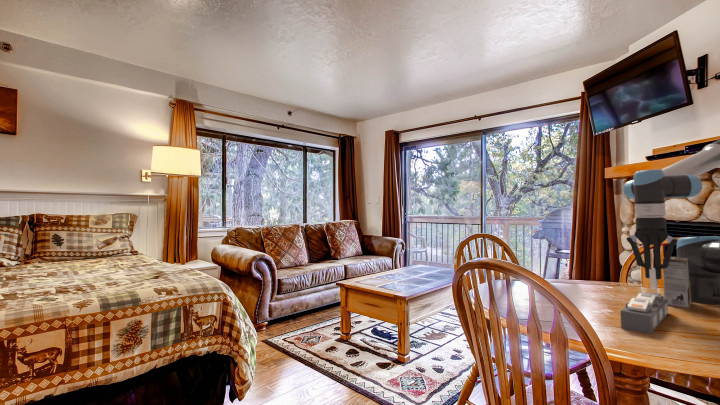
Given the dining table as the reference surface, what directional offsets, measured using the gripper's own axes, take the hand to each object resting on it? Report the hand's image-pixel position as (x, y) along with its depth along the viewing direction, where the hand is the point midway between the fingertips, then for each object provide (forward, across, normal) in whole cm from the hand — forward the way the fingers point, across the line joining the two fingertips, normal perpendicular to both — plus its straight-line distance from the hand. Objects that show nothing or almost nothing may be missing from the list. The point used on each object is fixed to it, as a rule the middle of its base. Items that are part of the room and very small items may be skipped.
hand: (654, 288), depth 109 cm
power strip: (+7, 0, -12) cm, 14 cm away
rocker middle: (+1, 0, -12) cm, 12 cm away
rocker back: (+2, 0, -4) cm, 4 cm away
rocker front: (+1, 0, -21) cm, 21 cm away
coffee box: (+8, +3, +18) cm, 20 cm away
